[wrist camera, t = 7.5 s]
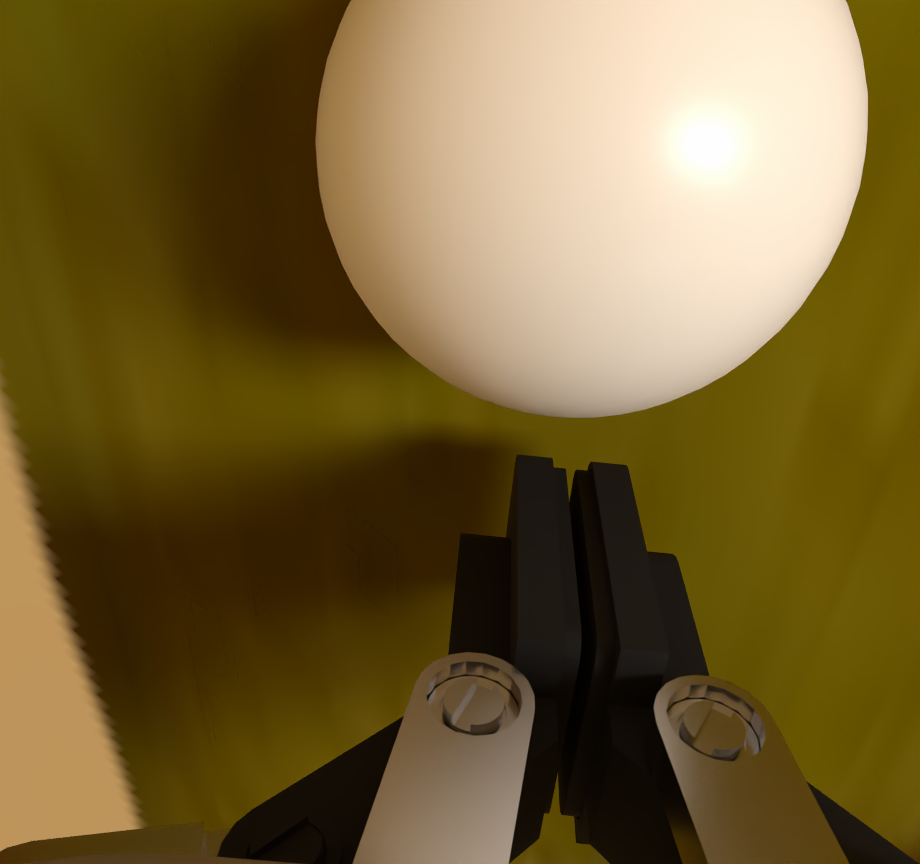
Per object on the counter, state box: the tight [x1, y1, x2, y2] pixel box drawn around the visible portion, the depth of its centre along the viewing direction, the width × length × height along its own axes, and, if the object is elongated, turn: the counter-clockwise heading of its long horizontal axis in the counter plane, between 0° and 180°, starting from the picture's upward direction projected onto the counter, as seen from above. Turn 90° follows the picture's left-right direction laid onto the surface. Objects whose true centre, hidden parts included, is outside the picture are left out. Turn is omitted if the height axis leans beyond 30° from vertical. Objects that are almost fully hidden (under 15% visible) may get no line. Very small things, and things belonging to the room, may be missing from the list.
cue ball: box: [315, 0, 868, 418], centre depth 9 cm, size 6×6×6 cm
